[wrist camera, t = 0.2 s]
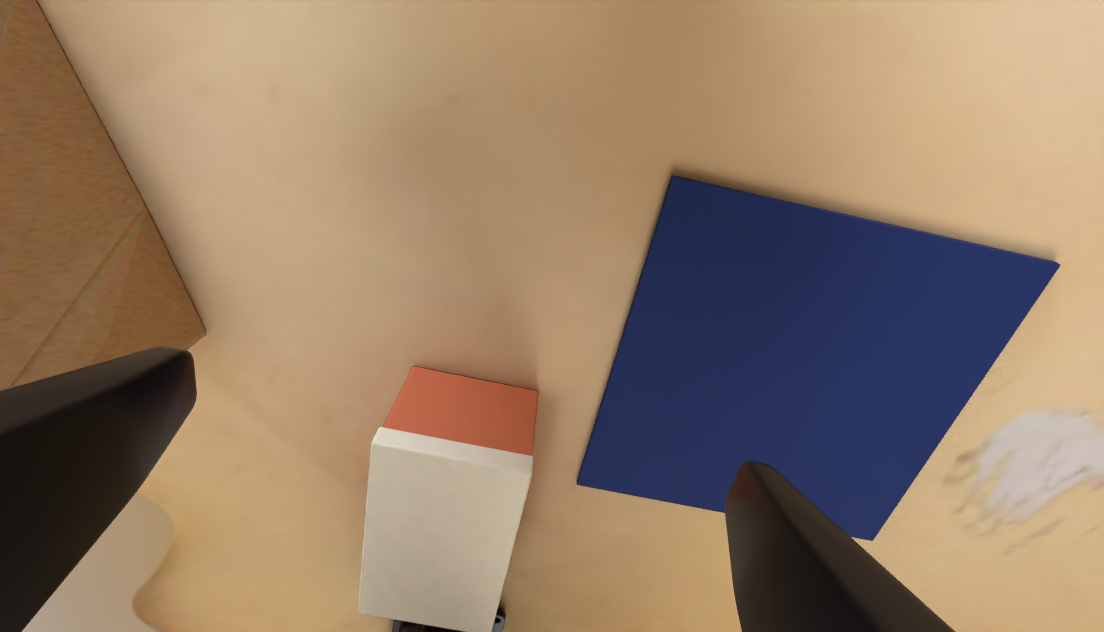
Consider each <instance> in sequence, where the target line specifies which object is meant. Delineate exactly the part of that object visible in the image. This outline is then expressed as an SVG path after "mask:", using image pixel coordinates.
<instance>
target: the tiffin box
mask: <svg viewBox="0 0 1104 632" xmlns="http://www.w3.org/2000/svg"><path fill="white" fill-rule="evenodd" d="M538 393H539V392H538V391H535V390H530V389H525V388H520V387H515V386H510V385H505V384H500V383H495V382H490V381H485V380H480V379H474V378H469V377H464V376H459V375H454V374H449V373H444V372H439V371H434V370H429V369H424V368H419V367H414V366H413V367H412V368H411V370H410V372H409V374H408V376H407V378H406V380H405V382H404V384H403V386H402V389H401V391H400V393H399V395H398V397H397V399H396V401H395V403H394V405H393V407H392V409H391V411H390V413H389V415H388V417H387V419H386V421H385V423H384V425H383V427H379V428H378V430H377V432H376V434H375V436H374V438H373V440H372V442H371V450H370V463H369V475H368V488H367V500H366V512H365V525H364V537H363V550H362V562H361V574H360V587H359V599H358V613H360V614H366V615H372V616H378V617H383V618H389V619H395V620H401V621H407V622H413V623H418V624H424V625H430V626H436V627H442V628H447V629H453V630H459V631H465V632H492V628H493V625H494V621H495V617H496V613H497V609H498V605H499V602H500V598H501V594H502V590H503V586H504V582H505V578H506V575H507V571H508V567H509V563H510V559H511V555H512V551H513V548H514V544H515V540H516V536H517V532H518V528H519V525H520V521H521V517H522V513H523V509H524V505H525V501H526V498H527V494H528V490H529V486H530V482H531V478H532V475H533V466H534V457H533V456H532V450H533V440H534V431H535V421H536V412H537V403H538Z"/></svg>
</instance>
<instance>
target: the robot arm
mask: <svg viewBox="0 0 1104 632" xmlns="http://www.w3.org/2000/svg"><path fill="white" fill-rule="evenodd" d="M196 396H197V390H196V380H195V369H194V360H193V356H192V355H191V353H190V352H188V351H187V350H183V349H178V348H173V347H168V346H158V347H154V348H151V349H147V350H144V351H140V352H136V353H133V354H129V355H126V356H122V357H119V358H115V359H112V360H108V361H105V362H101V363H97V364H94V365H90V366H87V367H83V368H80V369H76V370H73V371H69V372H65V373H62V374H58V375H55V376H51V377H48V378H44V379H41V380H37V381H34V382H30V383H26V384H23V385H19V386H16V387H12V388H9V389H5V390H2V391H0V632H22V630H23V629H24V628H25V627H26V625H27V624H28V623H29V622H30V621H31V619H32V618H33V617H34V616H35V615H36V613H37V612H38V611H39V610H40V609H41V607H42V606H43V605H44V604H45V602H46V601H47V600H48V599H49V598H50V596H51V595H52V594H53V593H54V592H55V590H56V589H57V588H58V587H59V586H60V584H61V583H62V582H63V581H64V579H65V578H66V577H67V576H68V575H69V573H70V572H71V571H72V570H73V569H74V567H75V566H76V565H77V564H78V562H79V561H80V560H81V559H82V558H83V557H84V555H85V554H86V553H87V552H88V550H89V549H90V548H91V547H92V546H93V544H94V543H95V542H96V541H97V539H98V538H99V537H100V536H101V534H102V533H103V532H104V531H105V530H106V528H107V527H108V526H109V525H110V524H111V523H112V521H113V520H114V519H115V518H116V517H117V515H118V514H119V513H120V512H121V511H122V509H123V508H124V507H125V506H126V504H127V503H128V502H129V501H130V499H131V498H132V497H133V496H134V494H135V493H136V492H137V491H138V489H139V488H140V486H141V485H142V484H143V482H144V481H145V479H146V478H147V476H148V475H149V473H150V472H151V470H152V469H153V467H154V466H155V464H156V463H157V461H158V460H159V458H160V457H161V455H162V454H163V452H164V451H165V449H166V448H167V446H168V445H169V443H170V442H171V440H172V439H173V437H174V436H175V434H176V433H177V431H178V430H179V428H180V427H181V425H182V424H183V422H184V421H185V419H186V418H187V416H188V415H189V413H190V412H191V410H192V408H193V406H194V404H195V401H196ZM725 516H726V525H727V534H728V543H729V552H730V561H731V570H732V579H733V587H734V594H735V600H736V605H737V610H738V615H739V620H740V624H741V629H742V632H955V631H954V630H953V629H952V628H951V627H949V626H948V625H947V624H946V623H945V622H944V621H943V620H942V619H941V618H939V617H938V616H937V615H936V614H935V613H934V612H933V611H932V610H931V609H930V608H928V607H927V606H926V605H925V604H924V603H923V602H922V601H921V600H920V599H918V598H917V597H916V596H915V595H914V594H913V593H912V592H911V591H910V590H909V589H907V588H906V587H905V586H904V585H903V584H902V583H901V582H900V581H899V580H897V579H896V578H895V577H894V576H893V575H892V574H891V573H890V572H889V571H887V570H886V569H885V568H884V567H883V566H882V565H881V564H880V563H879V562H878V561H876V560H875V559H874V558H873V557H872V556H871V555H870V554H869V553H868V552H866V551H865V550H864V549H863V548H862V547H861V546H860V545H859V544H858V543H857V542H855V541H854V540H853V539H852V538H851V537H850V536H849V535H848V534H847V533H845V532H844V531H843V530H842V529H841V528H840V527H839V526H838V525H837V524H836V523H834V522H833V521H832V520H831V519H830V518H829V517H828V516H827V515H826V514H824V513H823V512H822V511H821V510H820V509H819V508H818V507H817V506H816V505H814V504H813V503H812V502H811V501H810V500H809V499H808V498H807V497H806V496H805V495H803V494H802V493H801V492H800V491H799V490H798V489H797V488H796V487H795V486H793V485H792V484H791V483H790V482H789V481H788V480H787V479H786V478H785V477H784V476H782V475H781V474H780V473H779V472H778V471H777V470H776V469H775V468H774V467H772V466H771V465H768V464H764V463H759V462H754V461H746V462H744V463H743V464H742V466H741V467H740V469H739V471H738V473H737V476H736V478H735V480H734V482H733V484H732V486H731V488H730V490H729V492H728V494H727V497H726V501H725ZM505 616H506V613H505V612H504V611H503V610H501V609H497V613H496V617H495V621H494V625H493V628H492V632H502V630H503V627H504V623H505ZM392 632H465V631H459V630H453V629H447V628H442V627H436V626H430V625H424V624H418V623H413V622H407V621H401V620H395V619H394V623H393V631H392Z"/></svg>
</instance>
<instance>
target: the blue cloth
mask: <svg viewBox="0 0 1104 632" xmlns="http://www.w3.org/2000/svg"><path fill="white" fill-rule="evenodd" d="M1059 267H1060V264H1058V263H1056V262H1053V261H1048V260H1044V259H1040V258H1035V257H1031V256H1026V255H1022V254H1018V253H1013V252H1009V251H1004V250H1000V249H996V248H991V247H987V246H982V245H978V244H973V243H969V242H965V241H960V240H956V239H951V238H947V237H943V236H938V235H934V234H929V233H925V232H921V231H916V230H912V229H907V228H903V227H898V226H894V225H890V224H885V223H881V222H876V221H872V220H868V219H863V218H859V217H854V216H850V215H846V214H841V213H837V212H832V211H828V210H824V209H819V208H815V207H810V206H806V205H801V204H797V203H793V202H788V201H784V200H779V199H775V198H771V197H766V196H762V195H757V194H753V193H749V192H744V191H740V190H735V189H731V188H726V187H722V186H718V185H713V184H709V183H704V182H700V181H696V180H691V179H687V178H682V177H678V176H674V175H672V176H671V180H670V183H669V186H668V189H667V192H666V196H665V199H664V202H663V205H662V209H661V212H660V215H659V218H658V221H657V225H656V228H655V231H654V234H653V238H652V241H651V244H650V247H649V250H648V254H647V257H646V260H645V263H644V267H643V270H642V273H641V276H640V279H639V283H638V286H637V289H636V292H635V295H634V299H633V302H632V305H631V308H630V312H629V315H628V318H627V321H626V324H625V328H624V331H623V334H622V337H621V341H620V344H619V347H618V350H617V353H616V357H615V360H614V363H613V366H612V370H611V373H610V376H609V379H608V382H607V386H606V389H605V392H604V395H603V399H602V402H601V405H600V408H599V411H598V415H597V418H596V421H595V424H594V427H593V431H592V434H591V437H590V440H589V444H588V447H587V450H586V453H585V456H584V460H583V463H582V466H581V469H580V473H579V476H578V479H577V485H581V486H586V487H592V488H597V489H602V490H607V491H613V492H618V493H623V494H628V495H634V496H639V497H644V498H650V499H655V500H660V501H665V502H671V503H676V504H681V505H686V506H692V507H697V508H702V509H707V510H713V511H718V512H723V513H725V501H726V497H727V494H728V492H729V490H730V488H731V486H732V484H733V482H734V480H735V478H736V476H737V473H738V471H739V469H740V467H741V466H742V464H743V463H744V462H746V461H754V462H759V463H764V464H768V465H771V466H772V467H774V468H775V469H776V470H777V471H778V472H779V473H780V474H781V475H782V476H784V477H785V478H786V479H787V480H788V481H789V482H790V483H791V484H792V485H793V486H795V487H796V488H797V489H798V490H799V491H800V492H801V493H802V494H803V495H805V496H806V497H807V498H808V499H809V500H810V501H811V502H812V503H813V504H814V505H816V506H817V507H818V508H819V509H820V510H821V511H822V512H823V513H824V514H826V515H827V516H828V517H829V518H830V519H831V520H832V521H833V522H834V523H836V524H837V525H838V526H839V527H840V528H841V529H842V530H843V531H844V532H845V533H847V534H848V535H849V536H850V537H855V538H860V539H865V540H870V541H873V540H874V538H875V537H876V535H877V534H878V532H879V531H880V529H881V528H882V526H883V525H884V523H885V522H886V521H887V519H888V518H889V516H890V515H891V513H892V512H893V510H894V509H895V507H896V506H897V504H898V503H899V501H900V500H901V498H902V497H903V496H904V494H905V493H906V491H907V490H908V488H909V487H910V485H911V484H912V482H913V481H914V479H915V478H916V476H917V475H918V474H919V472H920V471H921V469H922V468H923V466H924V465H925V463H926V462H927V460H928V459H929V457H930V456H931V454H932V453H933V452H934V450H935V449H936V447H937V446H938V444H939V443H940V441H941V440H942V438H943V437H944V435H945V434H946V432H947V431H948V429H949V428H950V427H951V425H952V424H953V422H954V421H955V419H956V418H957V416H958V415H959V413H960V412H961V410H962V409H963V407H964V406H965V405H966V403H967V402H968V400H969V399H970V397H971V396H972V394H973V393H974V391H975V390H976V388H977V387H978V385H979V384H980V383H981V381H982V380H983V378H984V377H985V375H986V374H987V372H988V371H989V369H990V368H991V366H992V365H993V363H994V362H995V361H996V359H997V358H998V356H999V355H1000V353H1001V352H1002V350H1003V349H1004V347H1005V346H1006V344H1007V343H1008V341H1009V340H1010V338H1011V337H1012V336H1013V334H1014V333H1015V331H1016V330H1017V328H1018V327H1019V325H1020V324H1021V322H1022V321H1023V319H1024V318H1025V316H1026V315H1027V314H1028V312H1029V311H1030V309H1031V308H1032V306H1033V305H1034V303H1035V302H1036V300H1037V299H1038V297H1039V296H1040V294H1041V293H1042V292H1043V290H1044V289H1045V287H1046V286H1047V284H1048V283H1049V281H1050V280H1051V278H1052V277H1053V275H1054V274H1055V272H1056V271H1057V269H1058V268H1059Z"/></svg>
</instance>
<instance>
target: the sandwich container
mask: <svg viewBox="0 0 1104 632" xmlns="http://www.w3.org/2000/svg"><path fill="white" fill-rule="evenodd" d="M204 336H205V328H204V326H203V324H202V322H201V320H200V318H199V316H198V314H197V312H196V310H195V308H194V305H193V303H192V301H191V299H190V297H189V295H188V293H187V291H186V289H185V287H184V285H183V283H182V280H181V278H180V276H179V274H178V272H177V270H176V268H175V266H174V264H173V262H172V260H171V258H170V255H169V253H168V251H167V249H166V247H165V245H164V243H163V241H162V239H161V237H160V235H159V233H158V231H157V228H156V226H155V224H154V222H153V220H152V218H151V216H150V214H149V212H148V210H147V208H146V205H145V203H144V201H143V200H142V198H141V196H140V194H139V192H138V190H137V189H136V187H135V185H134V183H133V181H132V179H131V177H130V175H129V174H128V172H127V170H126V168H125V166H124V164H123V162H122V160H121V159H120V157H119V155H118V153H117V151H116V149H115V147H114V145H113V144H112V142H111V140H110V138H109V136H108V134H107V132H106V131H105V129H104V127H103V125H102V123H101V121H100V119H99V117H98V116H97V114H96V112H95V110H94V108H93V106H92V104H91V102H90V101H89V99H88V97H87V95H86V93H85V91H84V89H83V87H82V86H81V84H80V82H79V80H78V78H77V76H76V74H75V72H74V71H73V69H72V67H71V65H70V63H69V61H68V59H67V58H66V56H65V54H64V52H63V50H62V48H61V46H60V44H59V43H58V41H57V39H56V37H55V35H54V33H53V31H52V29H51V28H50V26H49V24H48V22H47V20H46V18H45V16H44V14H43V13H42V11H41V9H40V7H39V5H38V3H37V1H36V0H0V391H2V390H5V389H9V388H12V387H16V386H19V385H23V384H26V383H30V382H34V381H37V380H41V379H44V378H48V377H51V376H55V375H58V374H62V373H65V372H69V371H73V370H76V369H80V368H83V367H87V366H90V365H94V364H97V363H101V362H105V361H108V360H112V359H115V358H119V357H122V356H126V355H129V354H133V353H136V352H140V351H144V350H147V349H151V348H154V347H158V346H168V347H173V348H178V349H183V350H188V349H189V348H190V347H192V346H193V345H194V344H195V343H196V342H198V341H199V340H200V339H201V338H202V337H204Z"/></svg>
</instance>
